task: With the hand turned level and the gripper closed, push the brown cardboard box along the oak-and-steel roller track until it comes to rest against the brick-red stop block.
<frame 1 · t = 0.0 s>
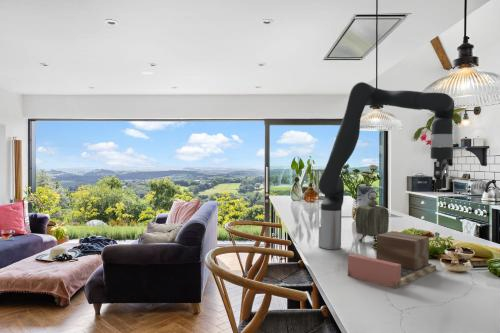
hand: (440, 188, 143), 29 cm above the kitchen island, tool pointing down, fingers open, 8 cm apart
juice carton: (365, 232, 210), on the kitchen island
roller track: (391, 273, 132), on the kitchen island
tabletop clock: (372, 242, 183), on the kitchen island
brown cardboard box: (402, 249, 137), point 7 cm above the kitchen island, slide at 0.0 cm
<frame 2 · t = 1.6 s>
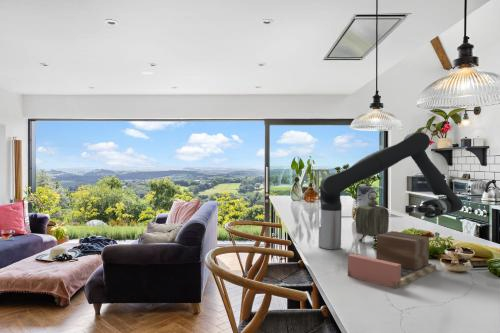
hand: (416, 211, 145), 20 cm above the kitchen island, tool horizontal, fingers open, 7 cm apart
nothing on the kitchen island moved.
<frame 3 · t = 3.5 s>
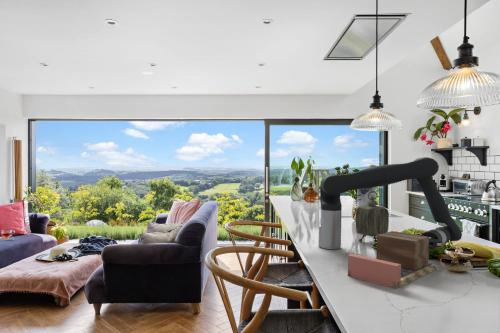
hand: (415, 244, 145), 7 cm above the kitchen island, tool horizontal, fingers closed
nothing on the kitchen island moved.
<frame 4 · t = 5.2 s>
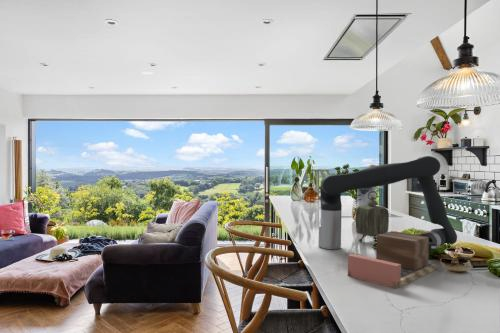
hand: (409, 247, 141), 7 cm above the kitchen island, tool horizontal, fingers closed
brown cardboard box: (402, 249, 137), point 7 cm above the kitchen island, slide at 0.1 cm, touching gripper
everything else where it was.
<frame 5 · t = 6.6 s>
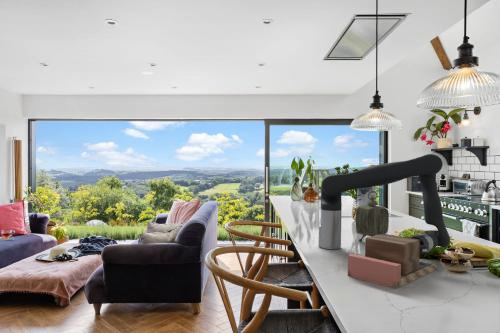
hand: (399, 250, 136), 7 cm above the kitchen island, tool horizontal, fingers closed
brown cardboard box: (391, 252, 132), point 7 cm above the kitchen island, slide at 8.1 cm, touching gripper
everything else where it was.
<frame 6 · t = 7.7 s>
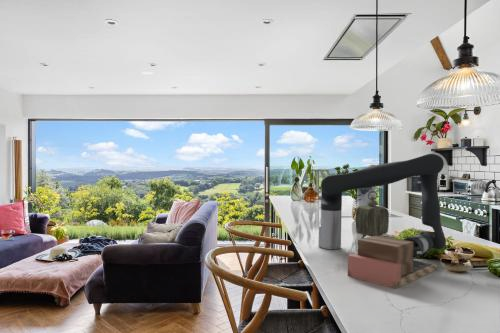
hand: (393, 253, 133), 7 cm above the kitchen island, tool horizontal, fingers closed
brown cardboard box: (385, 255, 128), point 7 cm above the kitchen island, slide at 13.0 cm, touching gripper
everything else where it was.
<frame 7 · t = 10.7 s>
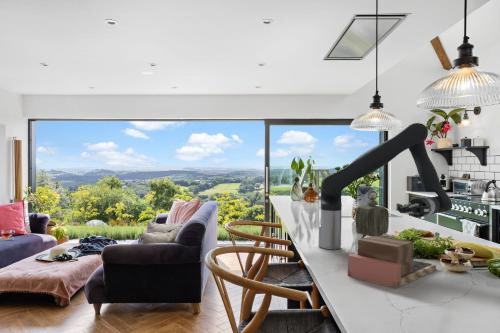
hand: (401, 210, 136), 22 cm above the kitchen island, tool horizontal, fingers closed
brown cardboard box: (385, 255, 128), point 7 cm above the kitchen island, slide at 13.0 cm
everything else where it was.
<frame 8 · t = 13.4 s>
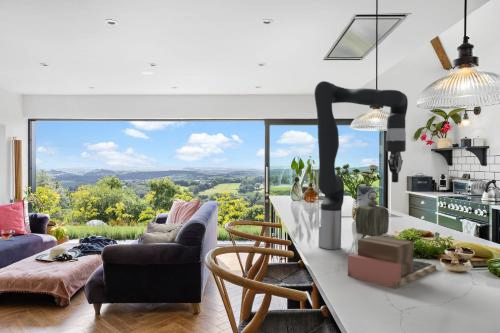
hand: (395, 182, 153), 31 cm above the kitchen island, tool pointing down, fingers closed
nothing on the kitchen island moved.
at the end: brown cardboard box slide at 13.0 cm; the gripper is holding nothing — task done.
